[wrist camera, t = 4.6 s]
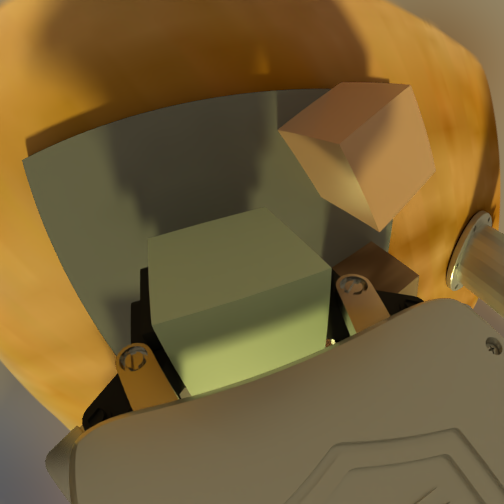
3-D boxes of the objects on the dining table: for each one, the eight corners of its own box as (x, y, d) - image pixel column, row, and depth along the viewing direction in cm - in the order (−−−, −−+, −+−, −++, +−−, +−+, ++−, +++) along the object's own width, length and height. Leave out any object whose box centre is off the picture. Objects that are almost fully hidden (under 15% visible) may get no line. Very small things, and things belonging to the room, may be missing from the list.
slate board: (389, 92, 15) (397, 93, 14) (370, 309, 26) (375, 314, 25) (28, 157, 9) (22, 160, 9) (151, 394, 20) (152, 402, 19)
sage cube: (265, 206, 12) (331, 267, 7) (274, 297, 14) (322, 368, 10) (147, 238, 10) (151, 325, 6) (180, 326, 13) (202, 412, 9)
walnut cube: (371, 241, 20) (419, 275, 15) (375, 284, 22) (413, 318, 18) (318, 275, 19) (362, 320, 15) (329, 316, 22) (365, 357, 18)
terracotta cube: (341, 82, 13) (410, 85, 9) (373, 149, 16) (435, 170, 12) (277, 129, 13) (339, 144, 9) (321, 197, 16) (379, 232, 12)
